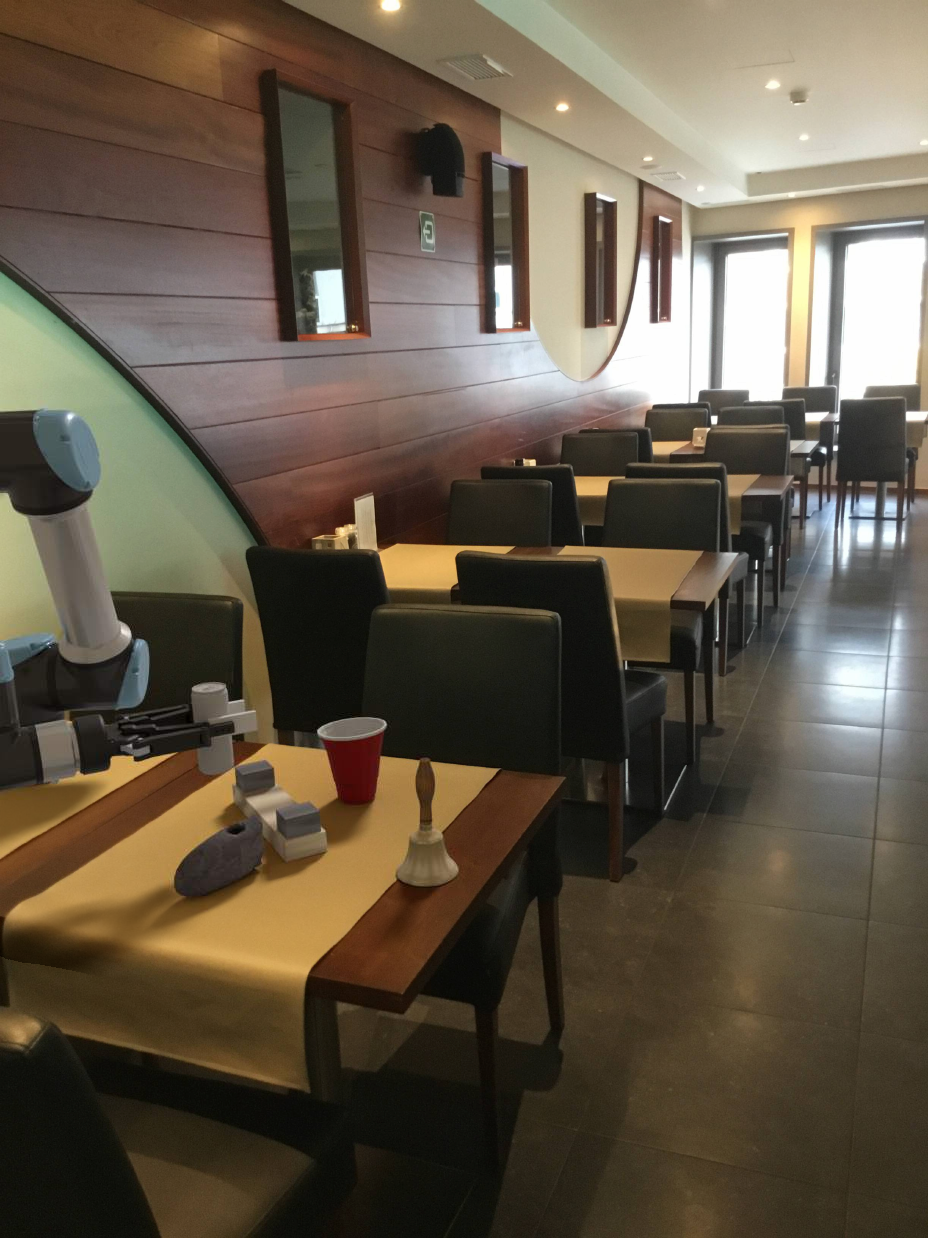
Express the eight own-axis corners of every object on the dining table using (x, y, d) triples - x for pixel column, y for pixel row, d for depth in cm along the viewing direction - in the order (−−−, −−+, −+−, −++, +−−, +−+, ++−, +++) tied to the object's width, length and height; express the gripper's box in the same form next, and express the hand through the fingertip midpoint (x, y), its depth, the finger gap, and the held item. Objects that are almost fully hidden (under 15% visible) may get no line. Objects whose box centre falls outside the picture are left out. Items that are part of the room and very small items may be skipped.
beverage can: (241, 766, 140) (234, 684, 138) (217, 778, 136) (209, 694, 134) (215, 760, 143) (208, 680, 140) (191, 772, 139) (182, 689, 136)
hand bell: (435, 851, 139) (430, 743, 135) (471, 874, 133) (467, 760, 129) (384, 870, 134) (378, 758, 131) (419, 894, 128) (413, 777, 124)
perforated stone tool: (189, 913, 125) (183, 862, 124) (163, 900, 128) (157, 850, 127) (279, 865, 137) (275, 818, 135) (254, 855, 140) (250, 809, 138)
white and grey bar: (233, 801, 158) (230, 766, 156) (270, 793, 161) (267, 758, 159) (286, 862, 137) (283, 821, 136) (327, 851, 140) (324, 811, 139)
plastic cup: (361, 778, 166) (357, 708, 163) (404, 795, 158) (401, 723, 155) (307, 798, 158) (302, 726, 155) (350, 817, 151) (345, 742, 148)
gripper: (68, 753, 138) (234, 721, 149) (88, 798, 123) (271, 760, 134) (61, 701, 137) (230, 673, 147) (80, 741, 121) (267, 706, 132)
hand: (249, 714), depth 140 cm, fingers closed on beverage can, 5 cm apart
